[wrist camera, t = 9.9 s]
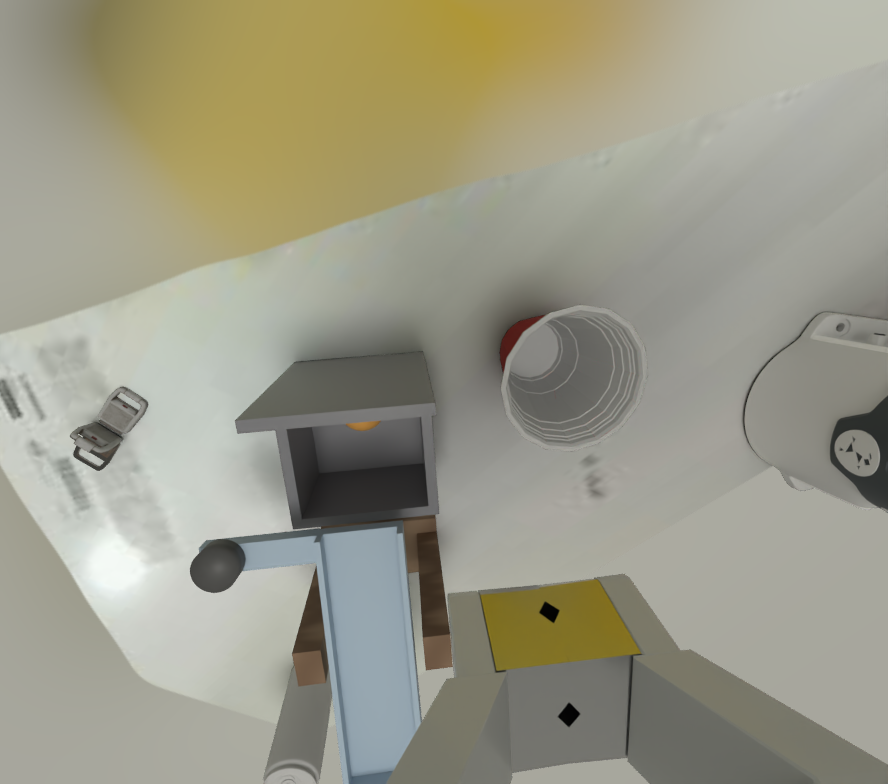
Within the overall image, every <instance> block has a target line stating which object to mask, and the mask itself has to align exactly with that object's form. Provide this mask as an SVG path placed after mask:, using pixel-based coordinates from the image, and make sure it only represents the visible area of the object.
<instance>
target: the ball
mask: <svg viewBox="0 0 888 784" xmlns="http://www.w3.org/2000/svg"><path fill="white" fill-rule="evenodd" d="M380 422H381V421H371V422H360V423H349V424H346V425H347V426H348V427H350V428H352V429H354V430H358V431H366V430H370V429H372V428H374V427H376V426H377V425H378V424H379V423H380Z"/></svg>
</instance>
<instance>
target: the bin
mask: <svg viewBox="0 0 888 784" xmlns="http://www.w3.org/2000/svg"><path fill="white" fill-rule="evenodd" d="M432 416H436V406H435V400H434V395H433V391H432V387H431V383H430V379H429V375H428V370H427V366H426V362H425V358H424V354H423V351H422V352H410V353H398V354H386V355H373V356H361V357H349V358H337V359H324V360H312V361H300V362H294V363H293V364H292V365H291V366H290V367H289V368H288V369H287V370H286V371H285V372H284V373H283V374H282V375H281V376H280V377H279V378H278V379H277V380H276V381H275V382H274V383H273V384H272V385H271V386H270V387H269V388H268V389H267V390H266V391H265V392H264V393H263V394H262V395H261V396H260V397H259V398H258V399H257V400H256V401H255V402H254V403H252V404H251V405H250V406H249V407H248V408H247V409H246V410H245V411H244V412H243V413H242V414H241V415H240V416H239V417H238V418H237V419H236V420H235V424H236V429H237V434H239V433H250V432H261V431H272V430H275V431H276V436H277V442H278V448H279V453H280V459H281V464H282V470H283V476H284V481H285V487H286V493H287V498H288V504H289V509H290V515H291V521H292V526H293V529H302V528H312V527H321V526H331V525H340V524H350V523H359V522H369V521H378V520H388V519H397V518H407V517H416V516H425V515H435V514H439V504H438V491H437V478H436V465H435V452H434V439H433V426H432ZM371 421H381V422H380V423H379V424H378V425H377V426H376V427H374V428H372V429H370V430H366V431H358V430H354V429H352V428H350V427H348V426H347V425H346V424H349V423H360V422H371Z"/></svg>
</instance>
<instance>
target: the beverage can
mask: <svg viewBox="0 0 888 784" xmlns="http://www.w3.org/2000/svg"><path fill="white" fill-rule="evenodd" d="M331 699H332V688H331V680H330V672H329V669H328V675H327V680H326V683H322V684H314V685H307V686H299V687H298V681H297V676H296V671H295V666H294V667H293V669H292V671H291V675H290V679H289V683H288V686H287V690H286V694H285V698H284V701H283V705H282V709H281V713H280V717H279V720H278V724H277V728H276V732H275V735H274V740H273V743H272V747H271V751H270V754H269V758H268V762H267V766H266V770H265V773H264V784H318V783H319V779H320V773H321V767H322V760H323V754H324V748H325V741H326V735H327V728H328V721H329V714H330V706H331Z"/></svg>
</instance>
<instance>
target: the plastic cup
mask: <svg viewBox="0 0 888 784" xmlns="http://www.w3.org/2000/svg"><path fill="white" fill-rule="evenodd" d="M500 361H501V365H502V370H503V378H502V383H501V392H502V397H503V402H504V406H505V411H506V416H507V417H508V419H509V420H510V421H511V423H512V424H513V425H514V427H515V428H516V429H517V431H518V432H519V433H520V435H521V436H522V437H523V438H525V439H527V440H529V441H530V442H532V443H534V444H536V445H538V446H540V447H542V448H544V449H547V450H560V451H575V450H579V449H582V448H585V447H589V446H592V445H596V444H599V443H600V442H602V441H603V440H605V439H606V438H607V437H609V436H610V435H612V434H613V433H614V432H616V431H617V430H619V429H620V428H621V427H623V425H624V424H625V423H626V421H627V420H628V418H629V417H630V416H631V414H632V413H633V412H634V410H635V409H636V407H637V406H638V405H639V403H640V400H641V397H642V393H643V390H644V387H645V383H646V380H647V377H648V372H647V361H646V350H645V346H644V345H643V343H642V341H641V339H640V338H639V336H638V334H637V332H636V331H635V329H634V327H633V325H632V324H631V323H629V322H628V321H626V320H625V319H623V318H622V317H620V316H619V315H617V314H616V313H615V312H613V311H612V310H610V309H607V308H600V307H593V306H586V305H577V306H573V307H570V308H566V309H562V310H559V311H555V312H551V313H548V314H547V315H543V316H538V317H534V318H530V319H526V320H522V321H519V322H518V323H516V324H515V325H514V326H512V327H511V328H510V329H509V330H508V331H507V333H506V334H505V336H504V338H503V339H502V342H501V348H500Z"/></svg>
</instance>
